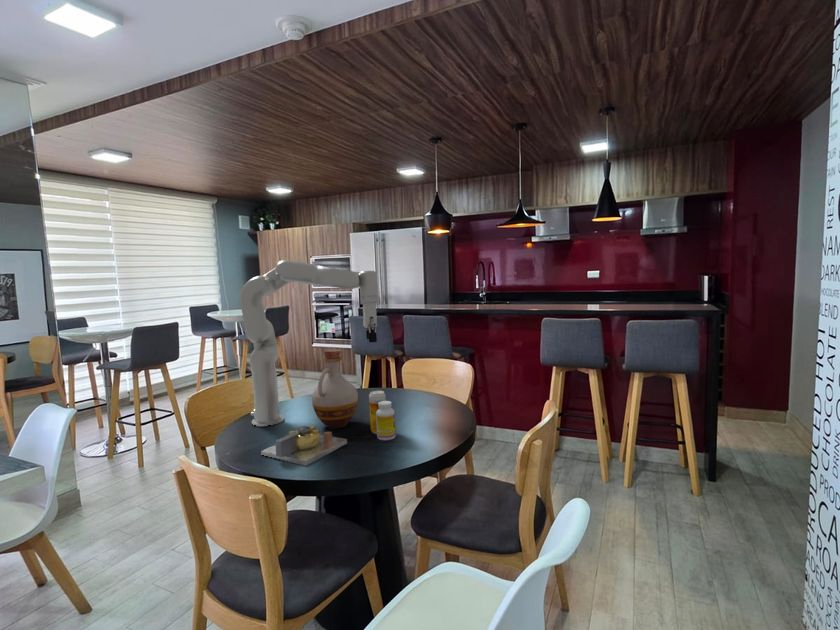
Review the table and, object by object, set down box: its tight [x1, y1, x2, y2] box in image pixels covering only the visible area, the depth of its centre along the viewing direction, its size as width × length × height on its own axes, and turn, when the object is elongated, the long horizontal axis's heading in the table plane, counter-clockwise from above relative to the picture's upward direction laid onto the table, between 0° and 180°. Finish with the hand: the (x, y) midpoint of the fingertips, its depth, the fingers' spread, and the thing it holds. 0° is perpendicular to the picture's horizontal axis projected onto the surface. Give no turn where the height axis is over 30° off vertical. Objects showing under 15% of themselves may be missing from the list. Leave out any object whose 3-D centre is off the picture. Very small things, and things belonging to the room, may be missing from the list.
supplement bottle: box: [376, 400, 397, 441], centre depth 157 cm, size 7×7×13 cm
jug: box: [311, 349, 359, 429], centre depth 172 cm, size 20×18×30 cm
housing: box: [260, 431, 348, 467], centre depth 150 cm, size 20×20×6 cm
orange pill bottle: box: [368, 390, 387, 435], centre depth 163 cm, size 6×6×15 cm
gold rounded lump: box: [274, 425, 320, 457], centre depth 147 cm, size 16×10×6 cm, turn 151°
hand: (371, 340), depth 186 cm, fingers open, 9 cm apart
